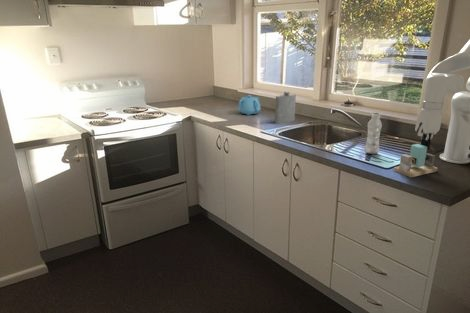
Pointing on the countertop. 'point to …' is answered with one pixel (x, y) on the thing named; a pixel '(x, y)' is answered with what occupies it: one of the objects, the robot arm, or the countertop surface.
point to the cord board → (411, 170)
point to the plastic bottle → (373, 134)
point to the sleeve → (418, 154)
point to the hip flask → (285, 108)
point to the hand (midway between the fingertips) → (424, 148)
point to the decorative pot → (249, 105)
